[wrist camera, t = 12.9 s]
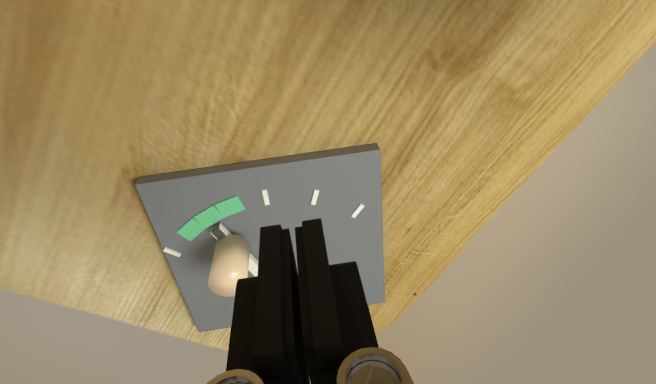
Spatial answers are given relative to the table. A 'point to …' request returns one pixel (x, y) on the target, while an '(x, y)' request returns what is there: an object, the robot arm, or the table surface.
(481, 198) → the table surface
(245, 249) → the tuning lever
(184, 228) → the dial board
